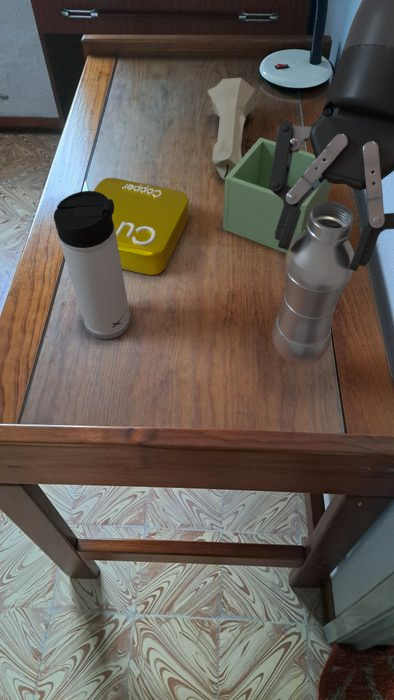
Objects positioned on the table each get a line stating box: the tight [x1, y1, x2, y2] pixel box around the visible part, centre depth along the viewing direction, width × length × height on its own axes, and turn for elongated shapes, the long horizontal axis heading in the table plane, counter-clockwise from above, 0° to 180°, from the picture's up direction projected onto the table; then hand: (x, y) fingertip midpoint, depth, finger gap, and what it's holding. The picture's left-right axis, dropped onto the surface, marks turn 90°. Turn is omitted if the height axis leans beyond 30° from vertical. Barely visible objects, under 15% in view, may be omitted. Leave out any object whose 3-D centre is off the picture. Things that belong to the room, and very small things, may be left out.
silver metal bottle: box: [271, 200, 355, 366], centre depth 52 cm, size 6×7×20 cm
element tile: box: [93, 177, 190, 276], centre depth 78 cm, size 15×15×5 cm
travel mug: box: [53, 190, 131, 340], centre depth 62 cm, size 6×7×20 cm
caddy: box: [222, 137, 333, 254], centre depth 78 cm, size 13×12×10 cm
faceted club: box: [207, 77, 256, 181], centre depth 90 cm, size 9×9×25 cm
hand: (317, 258), depth 46 cm, fingers closed on silver metal bottle, 6 cm apart
